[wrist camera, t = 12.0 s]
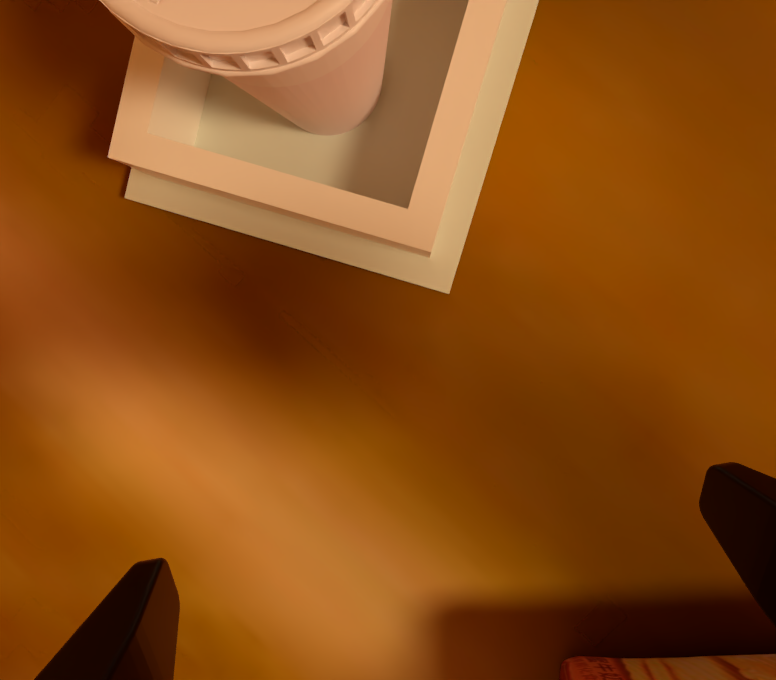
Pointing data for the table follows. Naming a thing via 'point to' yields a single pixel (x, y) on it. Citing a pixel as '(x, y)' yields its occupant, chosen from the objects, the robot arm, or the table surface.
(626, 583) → the table surface
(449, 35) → the cream square tray
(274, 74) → the smoothie
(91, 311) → the table surface
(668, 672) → the snack package
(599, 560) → the table surface
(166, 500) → the table surface
